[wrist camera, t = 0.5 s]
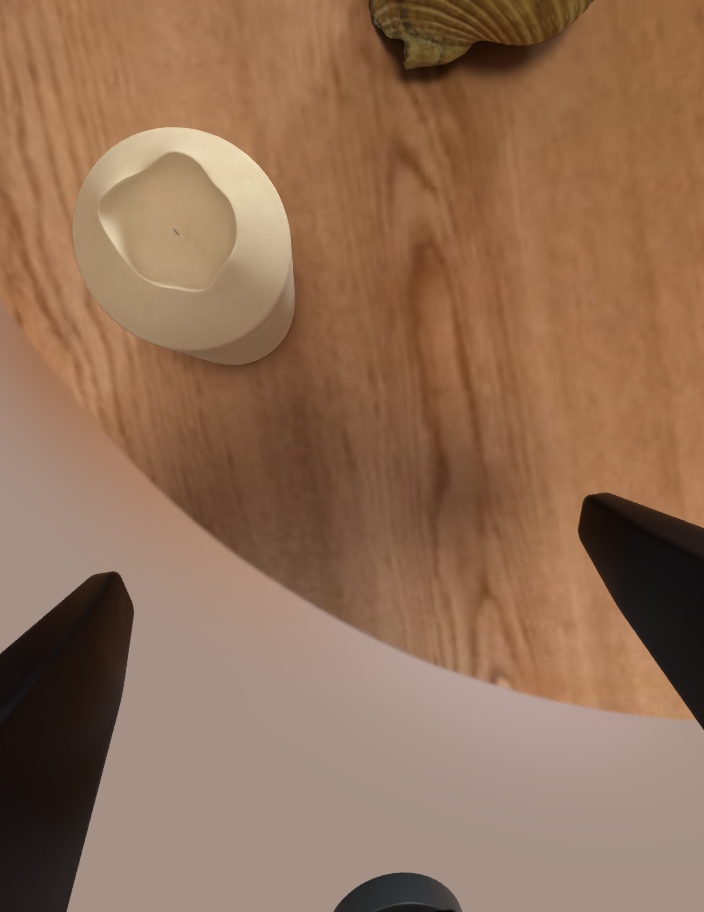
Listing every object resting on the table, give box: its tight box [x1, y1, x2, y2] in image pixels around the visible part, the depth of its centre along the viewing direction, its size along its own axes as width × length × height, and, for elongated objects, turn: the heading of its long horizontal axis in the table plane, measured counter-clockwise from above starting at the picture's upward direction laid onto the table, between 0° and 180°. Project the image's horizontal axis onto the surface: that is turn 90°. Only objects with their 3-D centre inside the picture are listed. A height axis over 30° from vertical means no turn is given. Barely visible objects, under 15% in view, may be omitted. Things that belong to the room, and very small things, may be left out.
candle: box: [72, 127, 295, 365], centre depth 16 cm, size 6×6×10 cm
